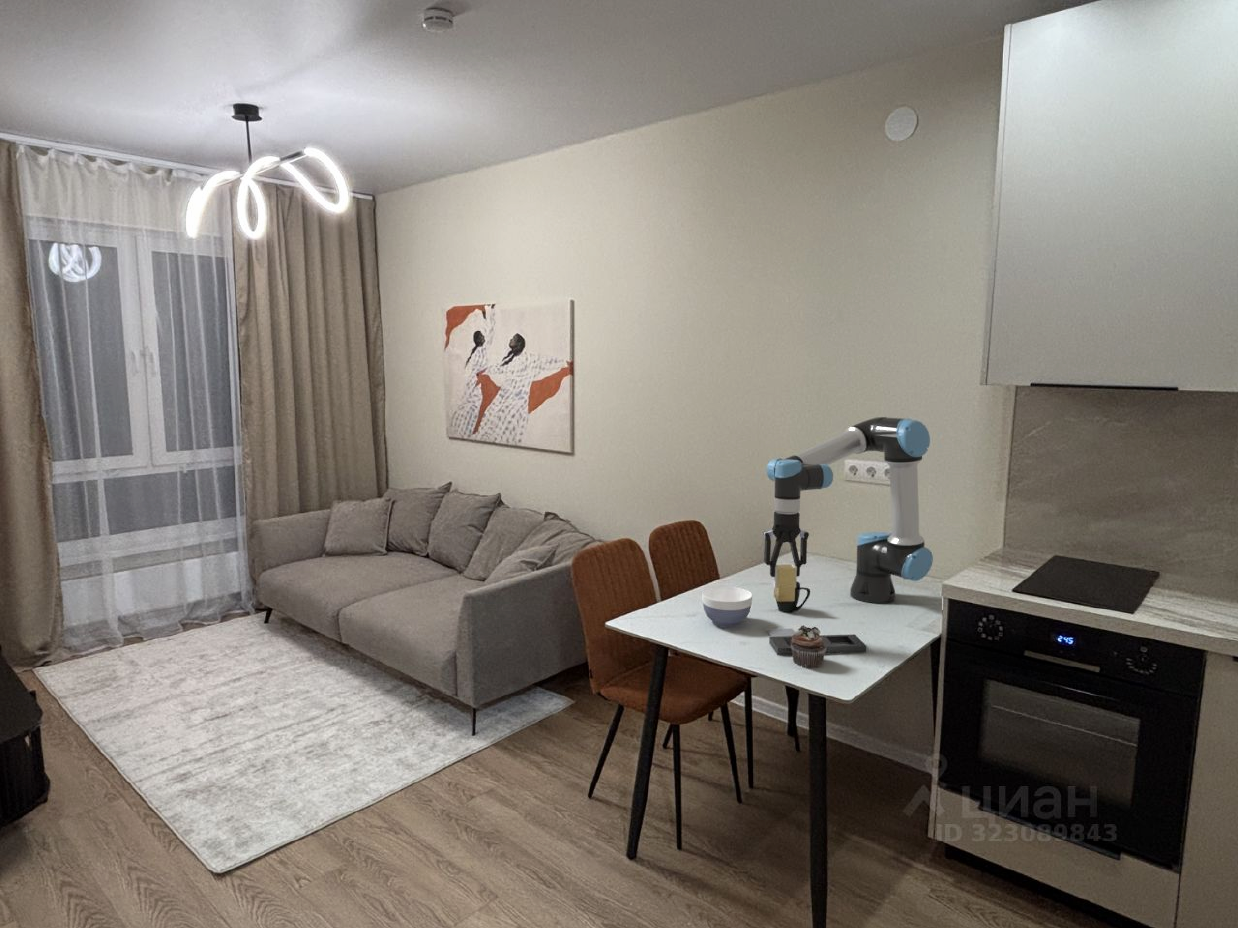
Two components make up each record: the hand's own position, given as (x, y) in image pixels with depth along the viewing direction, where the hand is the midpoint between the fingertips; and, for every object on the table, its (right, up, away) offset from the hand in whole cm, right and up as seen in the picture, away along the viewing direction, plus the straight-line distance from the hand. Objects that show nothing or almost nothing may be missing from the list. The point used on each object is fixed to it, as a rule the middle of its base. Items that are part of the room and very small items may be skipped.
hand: (784, 586), depth 228 cm
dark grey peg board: (+8, -17, -8) cm, 20 cm away
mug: (+8, -12, +24) cm, 28 cm away
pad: (0, -15, +2) cm, 15 cm away
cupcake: (+3, -18, -18) cm, 26 cm away
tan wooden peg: (0, -4, 0) cm, 4 cm away
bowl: (-16, -14, +14) cm, 25 cm away
